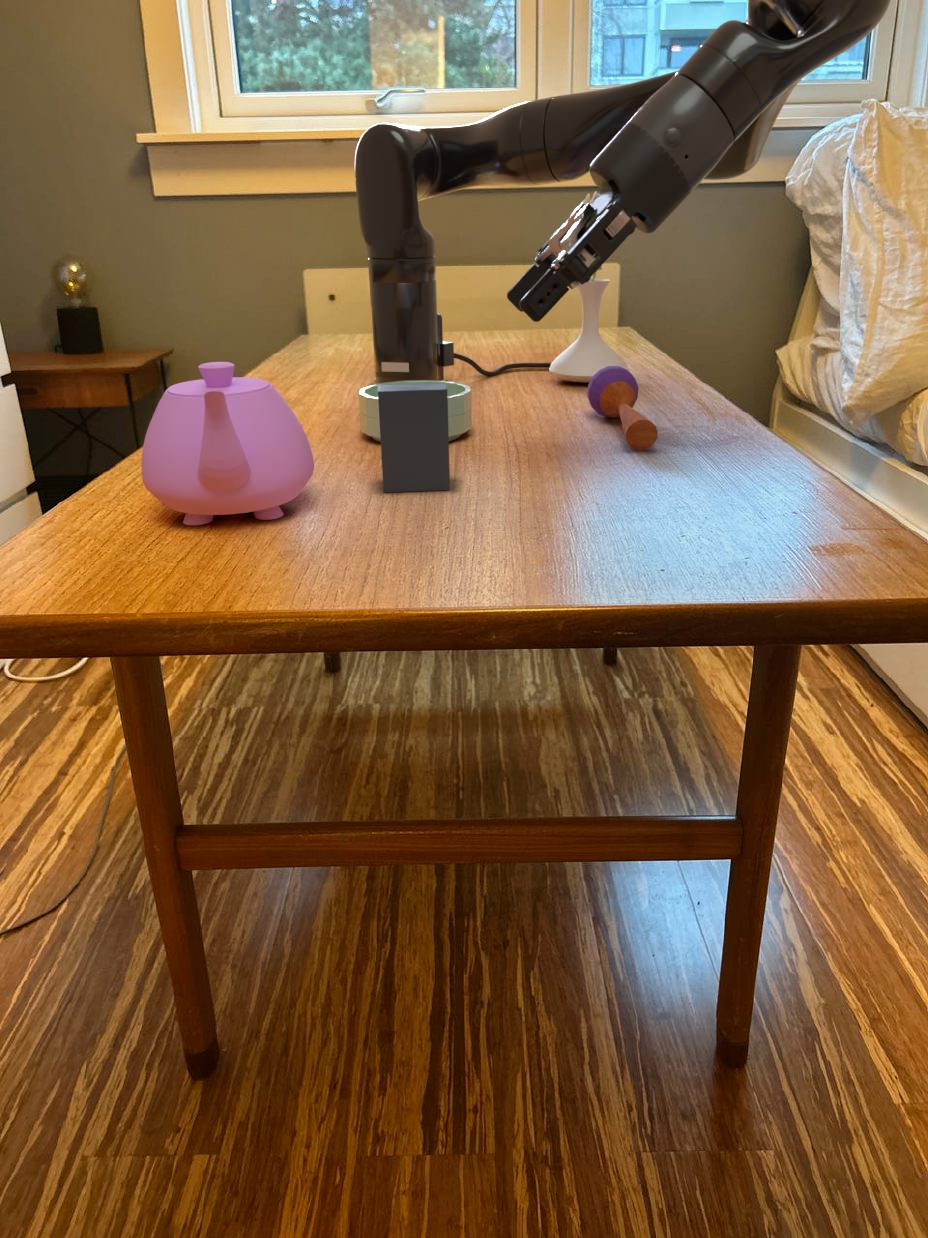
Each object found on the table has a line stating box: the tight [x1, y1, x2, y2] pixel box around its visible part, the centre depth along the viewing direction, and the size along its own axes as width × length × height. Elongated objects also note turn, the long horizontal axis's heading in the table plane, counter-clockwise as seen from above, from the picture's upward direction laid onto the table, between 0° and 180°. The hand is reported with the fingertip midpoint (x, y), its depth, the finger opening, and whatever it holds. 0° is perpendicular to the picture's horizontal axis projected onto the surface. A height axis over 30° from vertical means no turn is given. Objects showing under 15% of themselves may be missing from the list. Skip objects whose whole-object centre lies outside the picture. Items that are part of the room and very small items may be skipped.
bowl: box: [358, 380, 473, 443], centre depth 101 cm, size 12×12×5 cm
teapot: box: [140, 361, 315, 526], centre depth 74 cm, size 20×14×12 cm
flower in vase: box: [548, 190, 629, 384], centre depth 125 cm, size 13×11×25 cm
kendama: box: [586, 366, 659, 452], centre depth 101 cm, size 6×6×20 cm
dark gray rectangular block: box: [378, 383, 451, 493], centre depth 81 cm, size 3×6×9 cm, turn 94°
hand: (519, 309), depth 77 cm, fingers open, 8 cm apart
